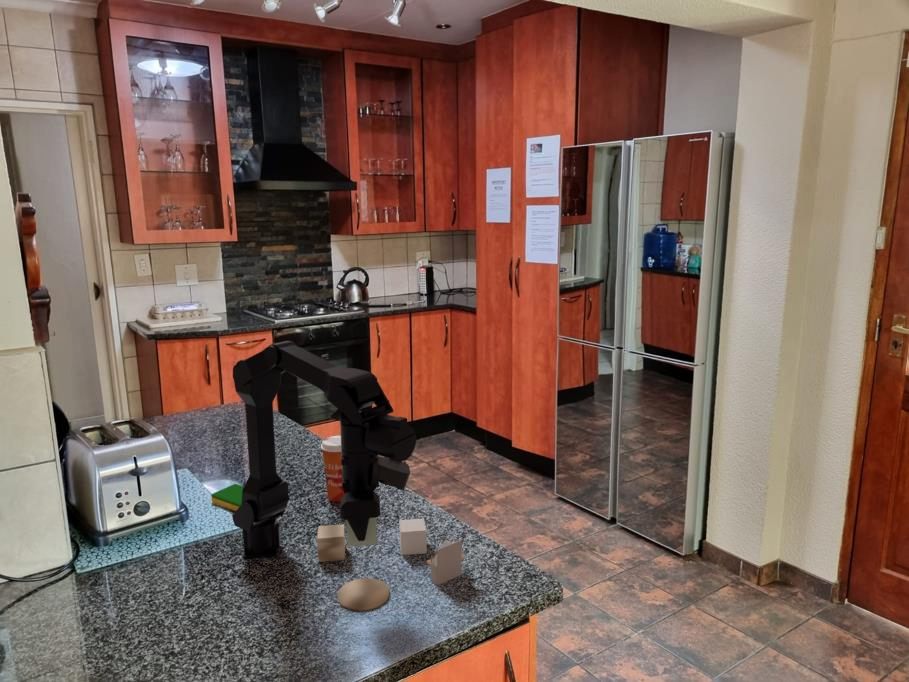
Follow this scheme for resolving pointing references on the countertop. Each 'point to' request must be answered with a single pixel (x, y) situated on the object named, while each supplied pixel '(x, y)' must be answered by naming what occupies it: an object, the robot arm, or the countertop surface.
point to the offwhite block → (412, 536)
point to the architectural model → (446, 562)
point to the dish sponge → (229, 497)
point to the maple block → (331, 543)
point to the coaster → (363, 594)
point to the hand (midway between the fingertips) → (361, 532)
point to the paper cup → (333, 467)
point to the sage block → (370, 535)
